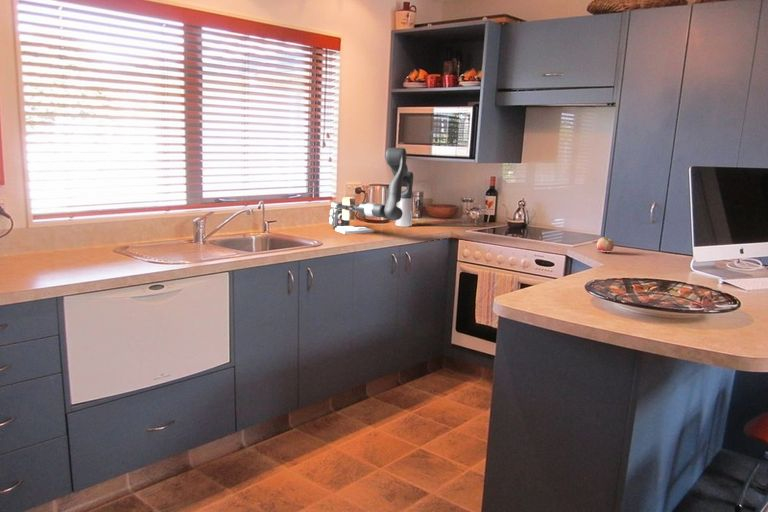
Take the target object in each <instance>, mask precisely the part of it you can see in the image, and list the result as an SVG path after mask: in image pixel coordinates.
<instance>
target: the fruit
mask: <svg viewBox="0 0 768 512" xmlns="http://www.w3.org/2000/svg"><path fill="white" fill-rule="evenodd" d="M596 248H597V250H603V251H611V252H612V251H613V249H614V248H615V243H614V240H613V239H610V238H608V237H607V236H602V237H600V238H599V239H598V240H597V241H596Z"/></svg>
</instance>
